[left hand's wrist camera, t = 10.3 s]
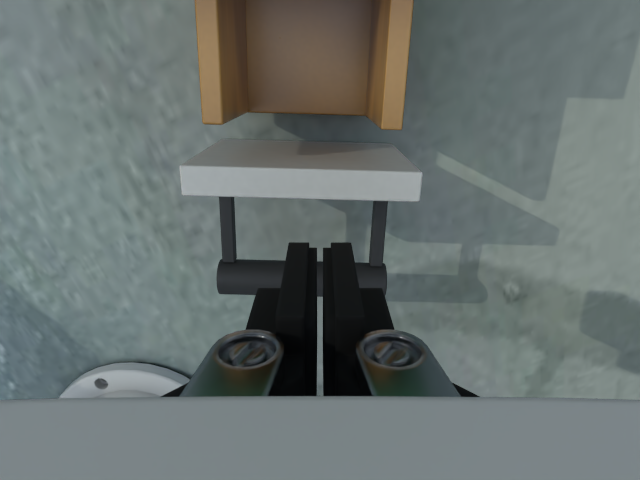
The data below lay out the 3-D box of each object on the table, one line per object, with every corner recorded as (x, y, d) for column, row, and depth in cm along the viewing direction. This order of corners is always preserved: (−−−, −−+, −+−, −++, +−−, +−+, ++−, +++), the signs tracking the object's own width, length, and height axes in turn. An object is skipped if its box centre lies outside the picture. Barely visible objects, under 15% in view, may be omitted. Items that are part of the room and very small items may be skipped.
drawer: (382, 262, 26) (405, 332, 19) (227, 258, 26) (192, 327, 19) (416, -144, 20) (472, -273, 12) (207, -151, 19) (140, -285, 12)
